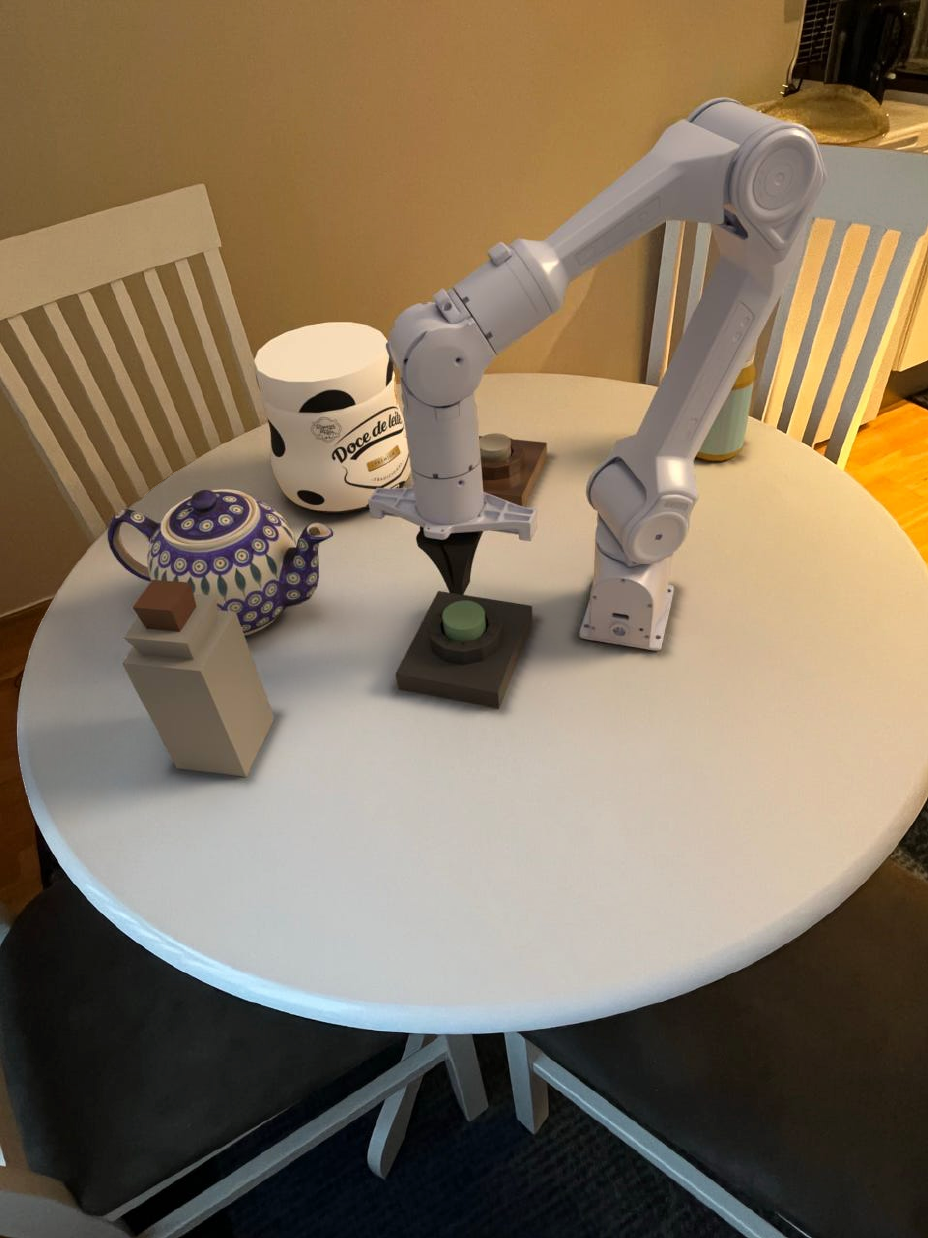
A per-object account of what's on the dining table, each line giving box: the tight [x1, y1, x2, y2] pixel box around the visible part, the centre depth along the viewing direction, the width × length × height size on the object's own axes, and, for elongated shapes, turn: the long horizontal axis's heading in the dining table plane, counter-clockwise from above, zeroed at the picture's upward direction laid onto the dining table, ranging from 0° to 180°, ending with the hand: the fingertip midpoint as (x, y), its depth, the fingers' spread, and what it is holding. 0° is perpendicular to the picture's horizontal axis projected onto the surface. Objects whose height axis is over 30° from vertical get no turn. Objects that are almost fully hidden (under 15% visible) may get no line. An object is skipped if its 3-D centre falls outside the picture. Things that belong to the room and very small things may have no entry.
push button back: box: [479, 435, 548, 507], centre depth 102 cm, size 12×10×4 cm
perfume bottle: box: [121, 580, 275, 778], centre depth 70 cm, size 7×7×18 cm
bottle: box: [695, 340, 758, 462], centre depth 100 cm, size 7×7×15 cm
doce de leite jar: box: [253, 321, 412, 514], centre depth 99 cm, size 17×17×18 cm
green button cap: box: [442, 601, 486, 642], centre depth 79 cm, size 4×4×2 cm
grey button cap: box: [479, 432, 511, 462], centre depth 101 cm, size 4×4×2 cm
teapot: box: [107, 488, 334, 636], centre depth 85 cm, size 25×15×15 cm, turn 76°
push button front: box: [395, 590, 534, 709], centre depth 80 cm, size 12×10×4 cm
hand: (459, 587), depth 76 cm, fingers closed
